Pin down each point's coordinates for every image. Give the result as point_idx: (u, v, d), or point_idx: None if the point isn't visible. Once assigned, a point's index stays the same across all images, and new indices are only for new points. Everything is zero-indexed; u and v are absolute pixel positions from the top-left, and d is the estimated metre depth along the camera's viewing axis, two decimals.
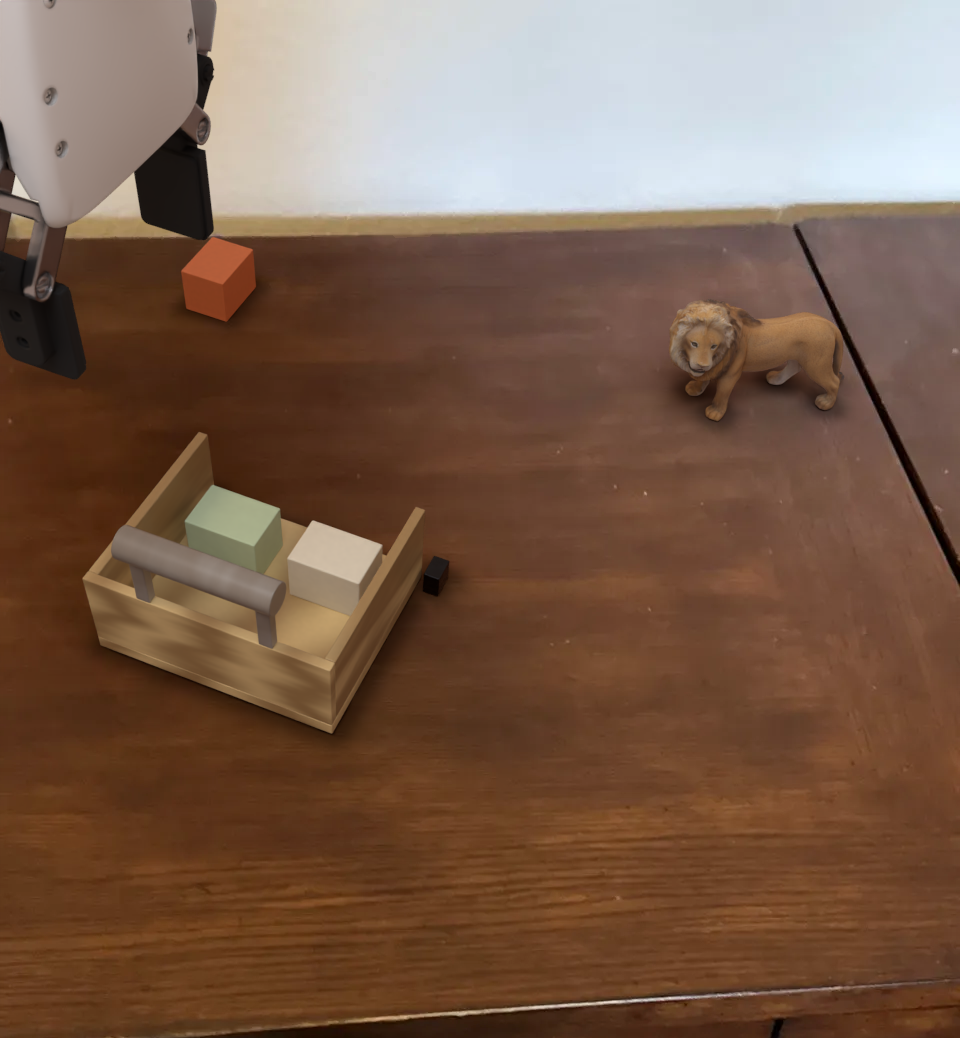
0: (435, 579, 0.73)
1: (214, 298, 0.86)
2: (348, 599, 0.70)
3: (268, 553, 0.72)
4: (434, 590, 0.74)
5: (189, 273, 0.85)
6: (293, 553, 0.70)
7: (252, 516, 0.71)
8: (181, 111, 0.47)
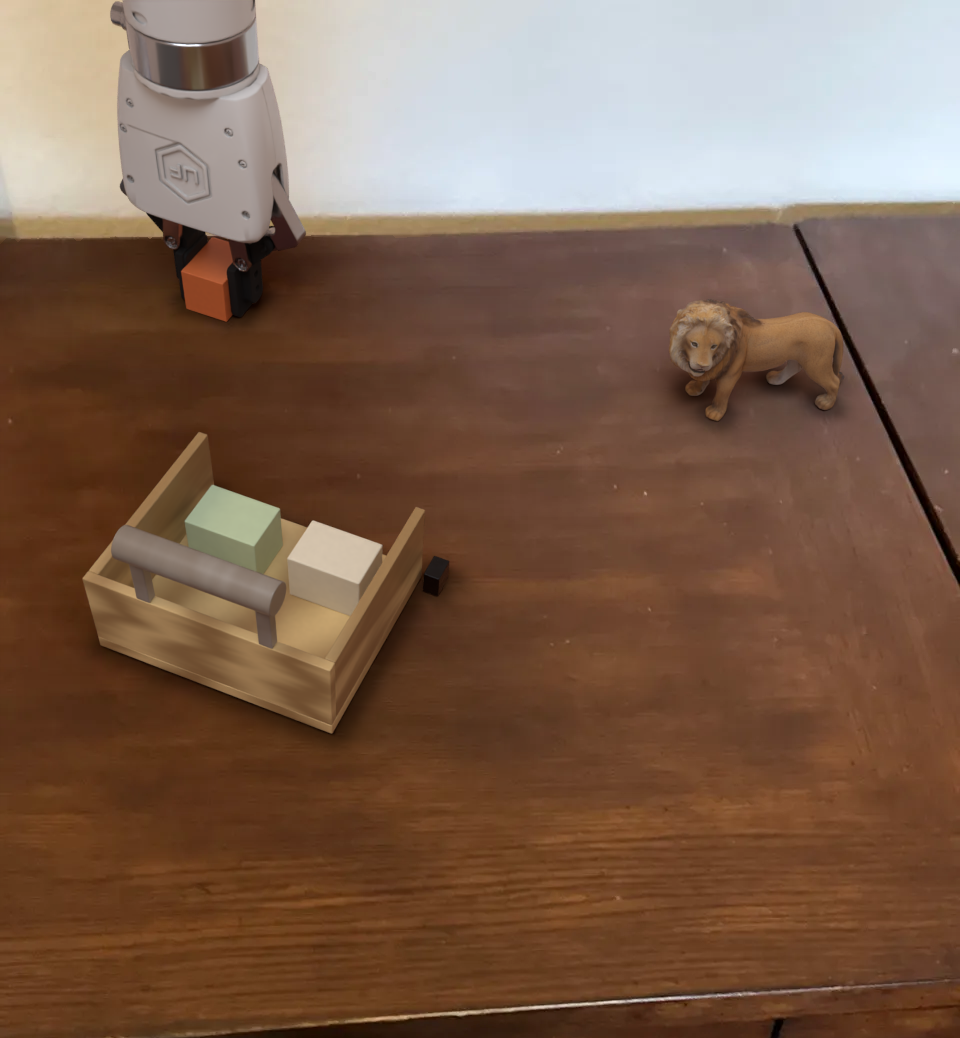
0: (435, 579, 0.73)
1: (214, 298, 0.86)
2: (348, 599, 0.70)
3: (268, 553, 0.72)
4: (434, 590, 0.74)
5: (189, 273, 0.85)
6: (293, 553, 0.70)
7: (252, 516, 0.71)
8: None
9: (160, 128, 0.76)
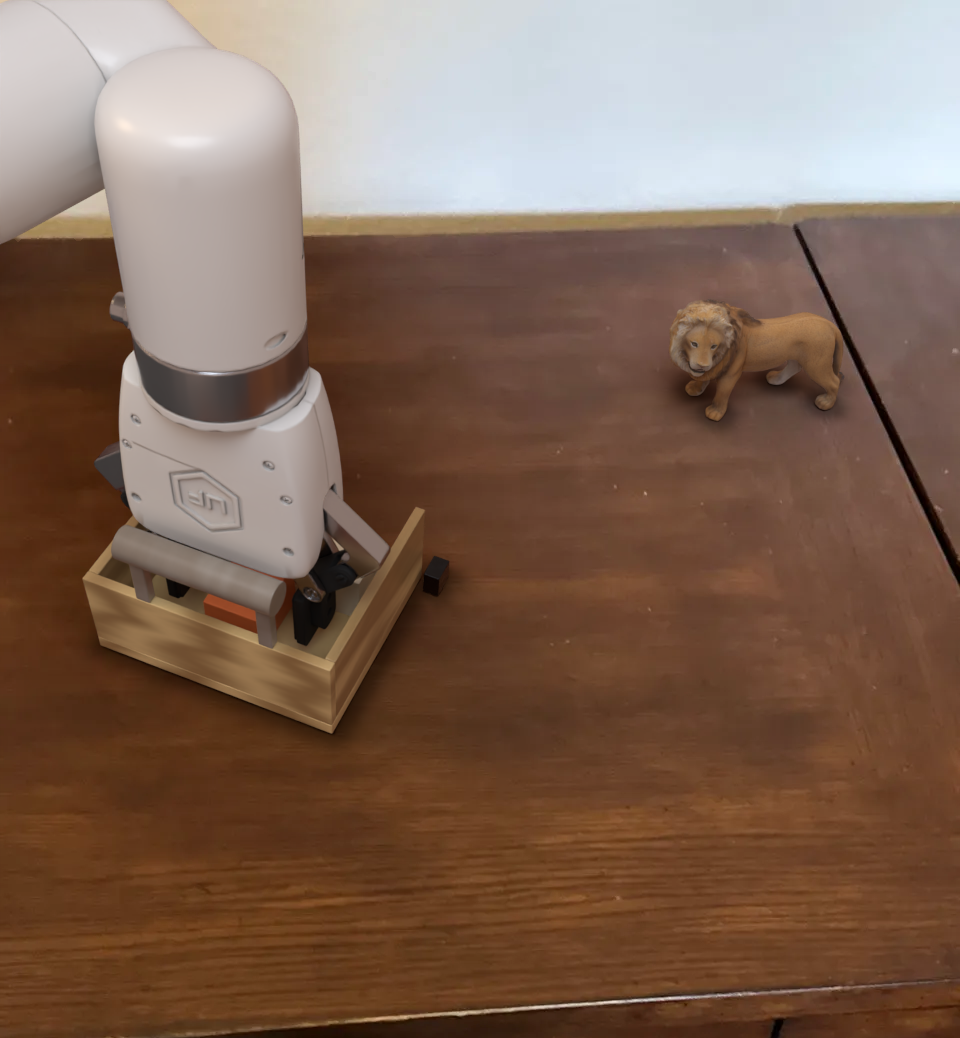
0: (435, 579, 0.73)
1: None
2: (348, 599, 0.70)
3: None
4: (434, 590, 0.74)
5: (213, 605, 0.67)
6: None
7: None
8: None
9: (177, 452, 0.57)
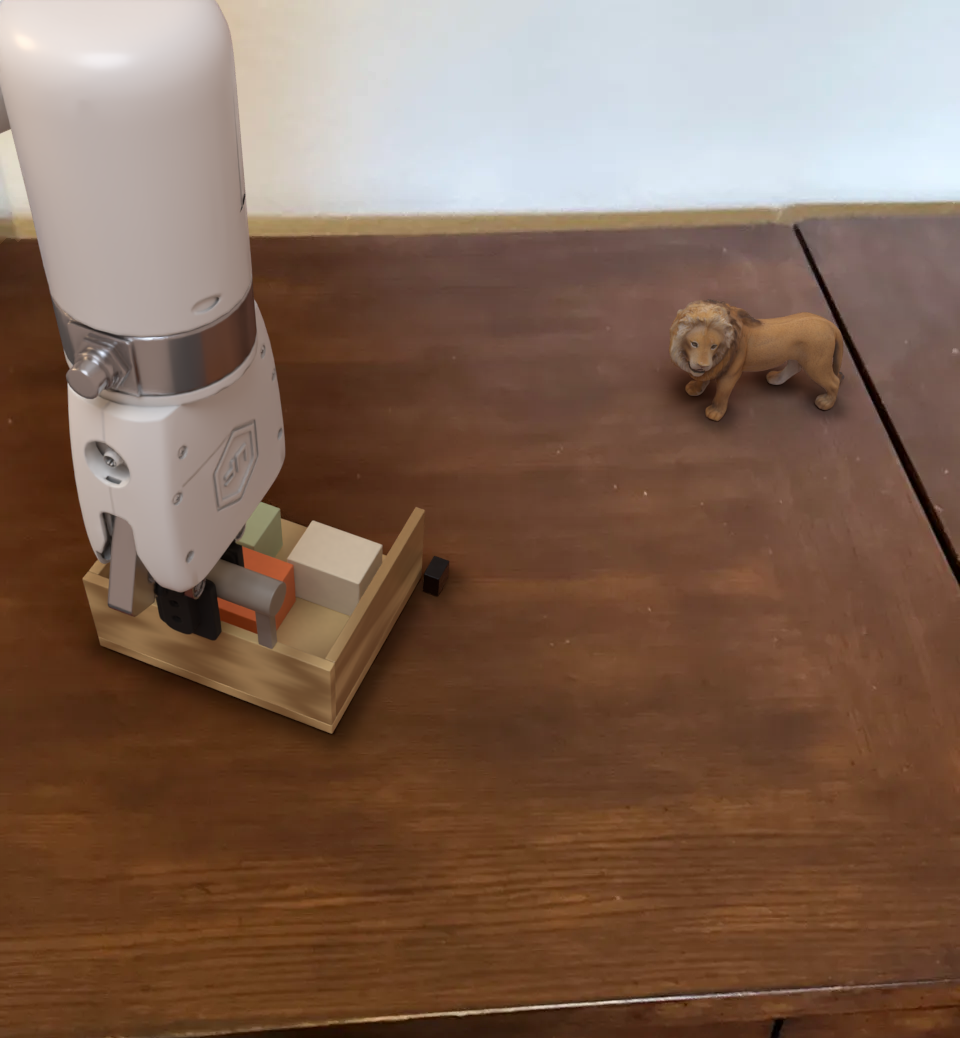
0: (435, 579, 0.73)
1: None
2: (348, 599, 0.70)
3: (268, 554, 0.72)
4: (434, 590, 0.74)
5: None
6: (293, 553, 0.70)
7: (252, 516, 0.71)
8: None
9: (216, 437, 0.51)
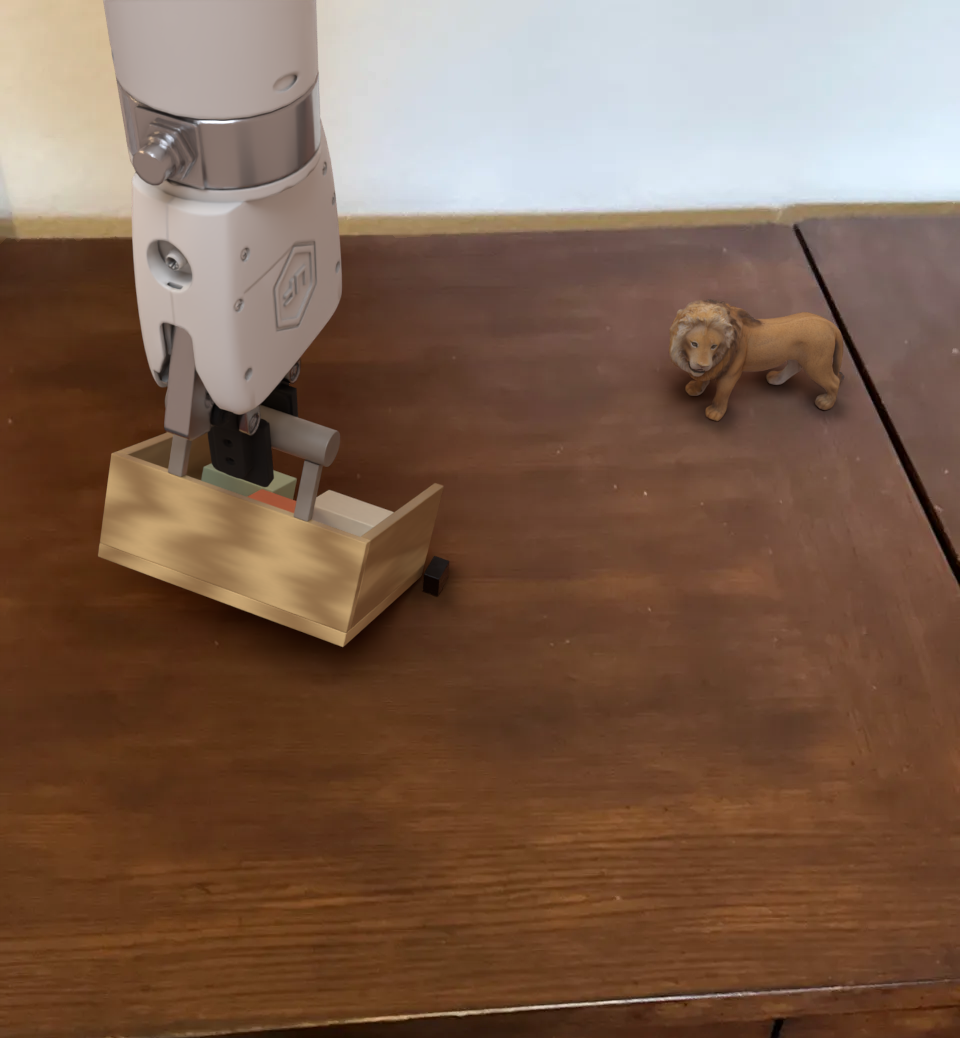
0: (435, 579, 0.73)
1: None
2: None
3: None
4: (434, 590, 0.74)
5: None
6: None
7: None
8: None
9: (278, 247, 0.51)
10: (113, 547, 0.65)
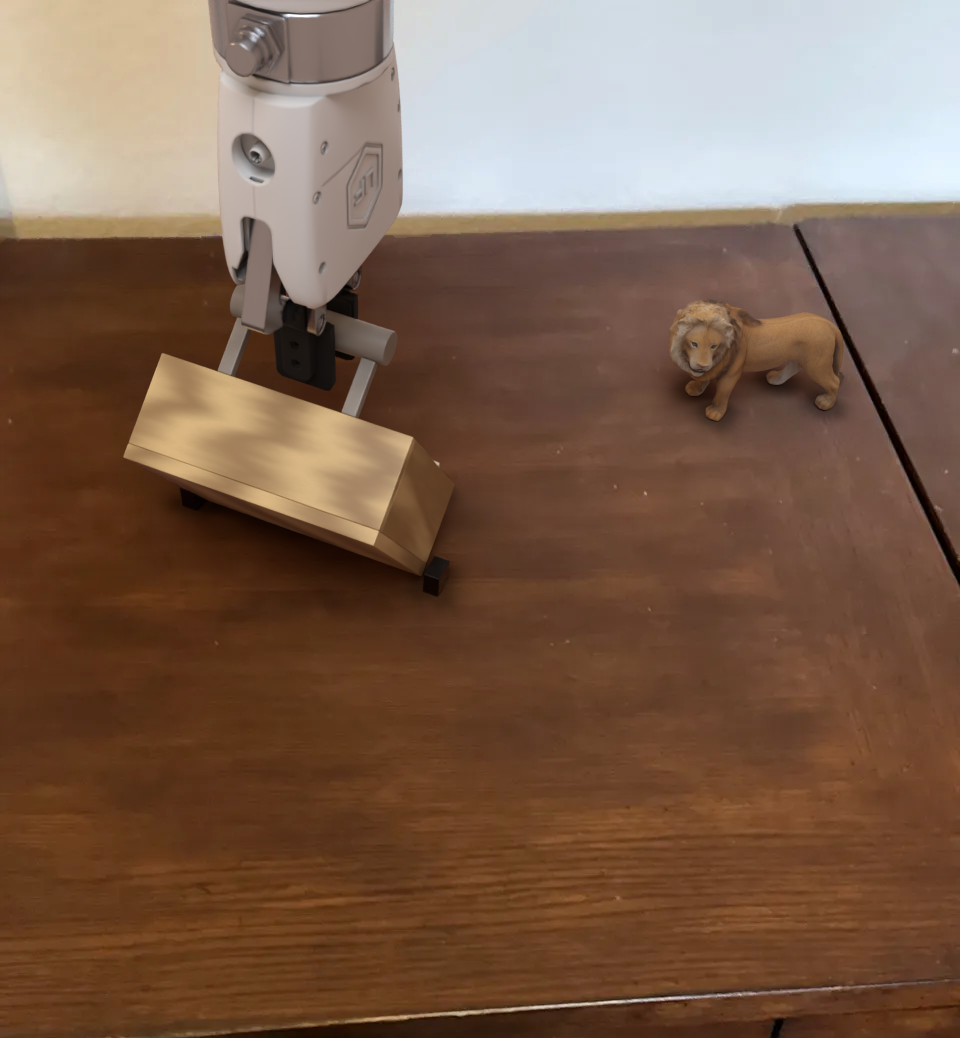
0: (435, 579, 0.73)
1: None
2: None
3: None
4: (434, 590, 0.74)
5: None
6: None
7: None
8: None
9: (352, 145, 0.54)
10: (142, 447, 0.65)
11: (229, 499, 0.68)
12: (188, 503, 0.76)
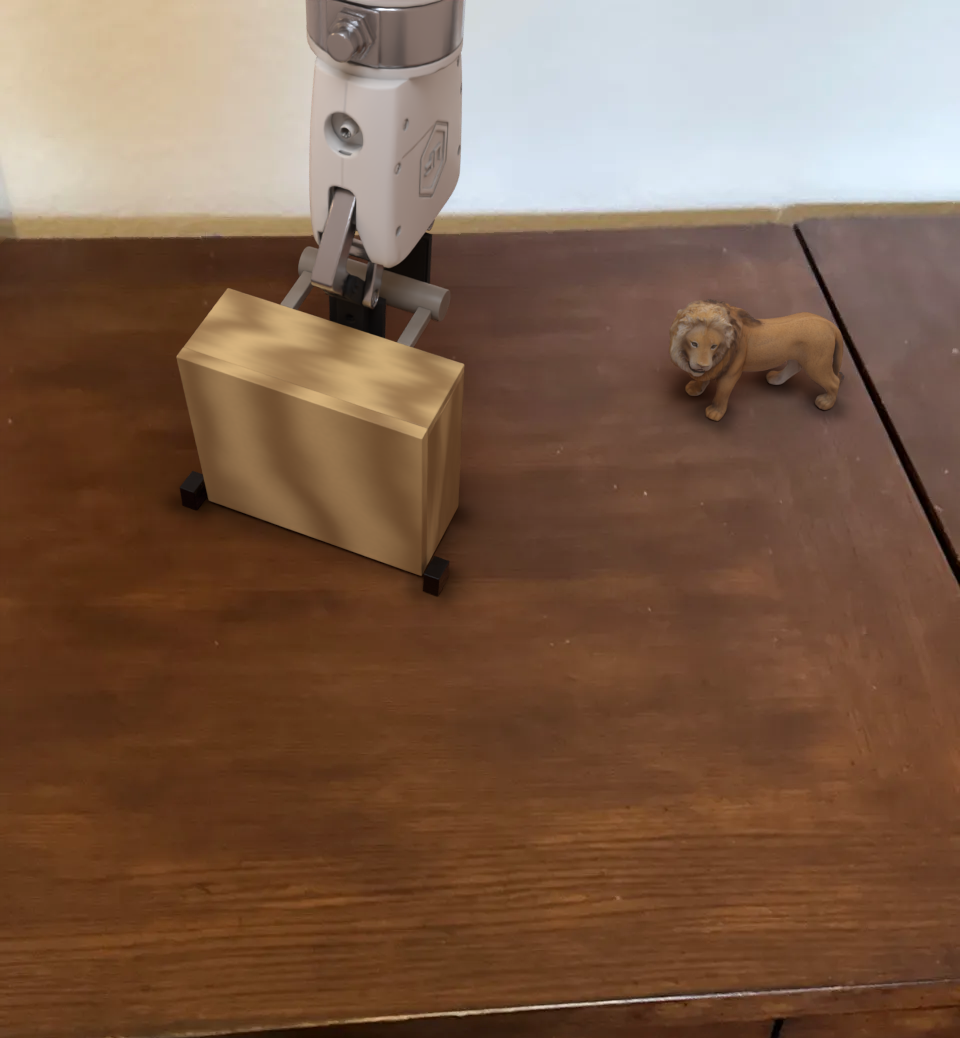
0: (435, 579, 0.73)
1: None
2: None
3: None
4: (434, 590, 0.74)
5: None
6: None
7: None
8: None
9: (426, 122, 0.62)
10: (197, 351, 0.67)
11: (264, 429, 0.69)
12: (188, 503, 0.76)
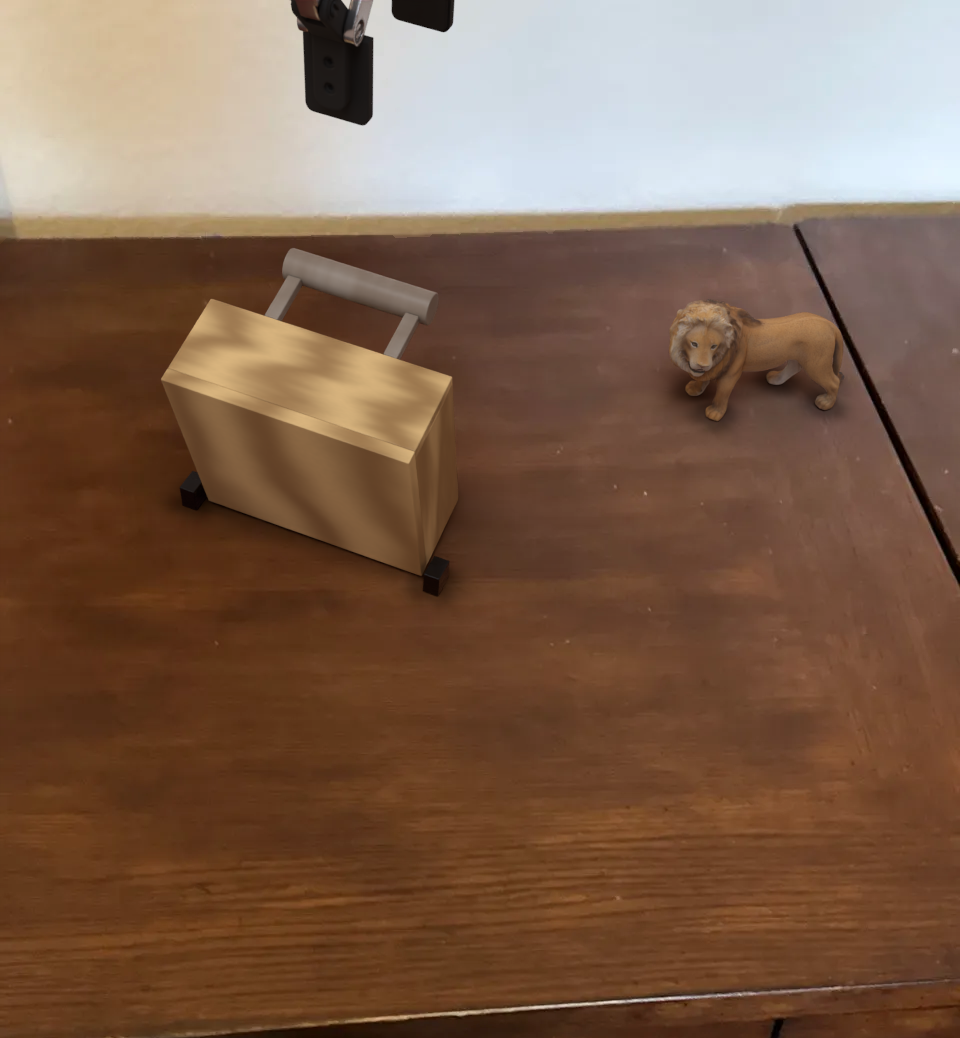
0: (435, 579, 0.73)
1: None
2: None
3: None
4: (434, 590, 0.74)
5: None
6: None
7: None
8: None
9: None
10: (181, 372, 0.66)
11: (254, 445, 0.68)
12: (188, 503, 0.76)
